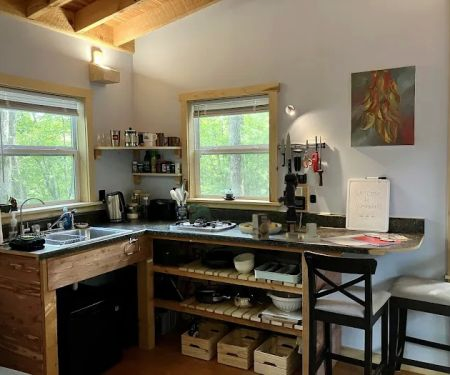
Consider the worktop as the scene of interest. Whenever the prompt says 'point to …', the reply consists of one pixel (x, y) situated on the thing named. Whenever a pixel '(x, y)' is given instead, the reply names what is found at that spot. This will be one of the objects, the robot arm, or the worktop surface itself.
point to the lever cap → (310, 230)
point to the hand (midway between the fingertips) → (290, 215)
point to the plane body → (292, 235)
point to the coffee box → (260, 226)
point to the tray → (311, 239)
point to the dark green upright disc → (199, 213)
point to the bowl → (248, 227)
